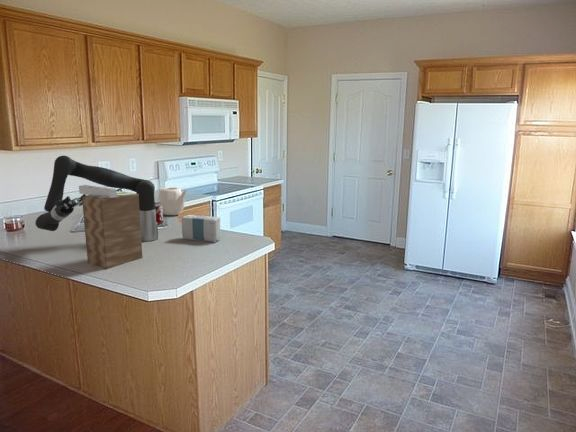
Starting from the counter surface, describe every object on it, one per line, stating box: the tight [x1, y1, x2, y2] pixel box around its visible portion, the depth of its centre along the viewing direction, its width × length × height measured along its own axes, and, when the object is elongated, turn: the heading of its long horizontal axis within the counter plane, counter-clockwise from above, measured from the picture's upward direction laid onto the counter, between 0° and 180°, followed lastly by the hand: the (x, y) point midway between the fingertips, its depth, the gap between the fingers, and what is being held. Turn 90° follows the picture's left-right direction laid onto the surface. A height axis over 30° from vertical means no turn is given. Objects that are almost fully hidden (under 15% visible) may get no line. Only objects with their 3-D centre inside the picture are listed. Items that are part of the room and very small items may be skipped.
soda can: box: [155, 203, 164, 225], centre depth 287 cm, size 7×7×12 cm
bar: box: [78, 184, 117, 198], centre depth 203 cm, size 22×4×4 cm, turn 59°
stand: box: [82, 190, 143, 270], centre depth 209 cm, size 14×20×32 cm
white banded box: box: [181, 205, 221, 242], centre depth 249 cm, size 21×8×20 cm, turn 73°
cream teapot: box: [158, 186, 188, 216], centre depth 314 cm, size 16×27×19 cm, turn 59°
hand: (77, 196), depth 211 cm, fingers open, 8 cm apart
